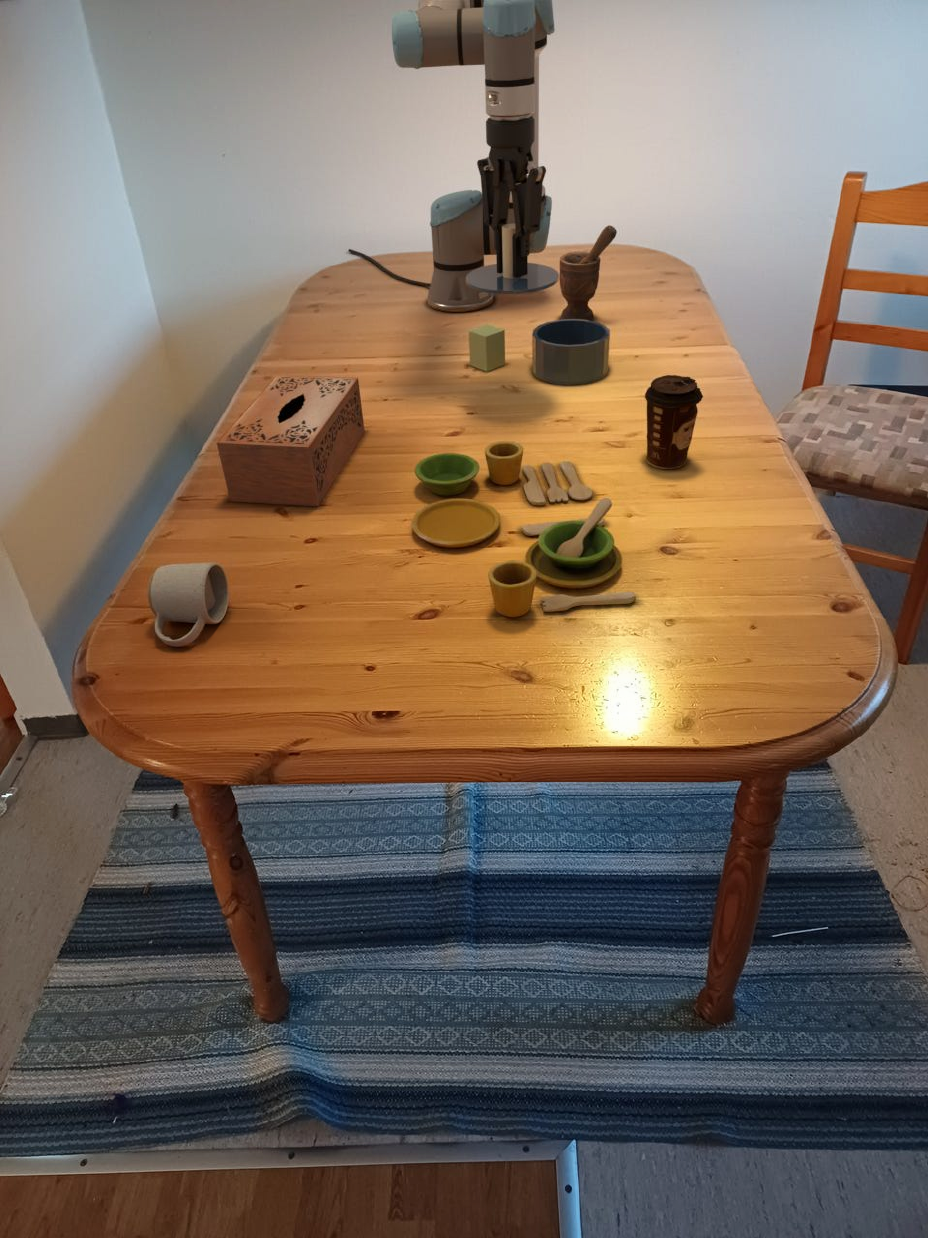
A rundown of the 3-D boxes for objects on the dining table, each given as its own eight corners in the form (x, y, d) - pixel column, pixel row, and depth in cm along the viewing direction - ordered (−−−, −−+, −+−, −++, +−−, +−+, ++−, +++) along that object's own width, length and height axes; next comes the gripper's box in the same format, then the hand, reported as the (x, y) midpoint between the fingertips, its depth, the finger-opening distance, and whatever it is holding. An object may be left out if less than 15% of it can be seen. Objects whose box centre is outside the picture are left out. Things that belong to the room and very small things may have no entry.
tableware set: (644, 610, 113) (648, 568, 109) (424, 633, 111) (420, 591, 107) (576, 459, 145) (577, 423, 141) (405, 475, 144) (402, 439, 140)
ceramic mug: (175, 597, 119) (160, 549, 115) (234, 599, 118) (221, 551, 114) (143, 649, 111) (126, 600, 106) (207, 651, 110) (192, 602, 105)
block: (469, 365, 179) (468, 330, 175) (488, 358, 182) (487, 323, 177) (486, 371, 176) (485, 336, 172) (505, 364, 179) (504, 329, 174)
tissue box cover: (318, 506, 137) (308, 447, 131) (230, 501, 140) (216, 442, 134) (364, 432, 157) (358, 377, 151) (286, 428, 160) (277, 374, 153)
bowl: (516, 371, 176) (516, 333, 171) (568, 350, 183) (569, 313, 179) (571, 391, 167) (572, 352, 162) (623, 368, 174) (626, 330, 170)
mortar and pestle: (611, 312, 200) (616, 217, 188) (611, 326, 193) (617, 228, 181) (558, 313, 201) (560, 218, 189) (558, 326, 194) (559, 229, 182)
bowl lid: (446, 284, 153) (443, 228, 148) (512, 263, 161) (512, 209, 156) (511, 304, 144) (510, 244, 138) (578, 281, 152) (580, 223, 146)
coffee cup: (698, 452, 145) (707, 375, 138) (691, 475, 139) (700, 397, 131) (644, 446, 148) (650, 370, 140) (635, 469, 142) (641, 391, 134)
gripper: (456, 115, 140) (463, 269, 155) (530, 124, 130) (530, 288, 145) (491, 108, 144) (495, 259, 158) (566, 116, 134) (562, 277, 148)
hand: (512, 273), depth 151 cm, fingers closed on bowl lid, 3 cm apart
